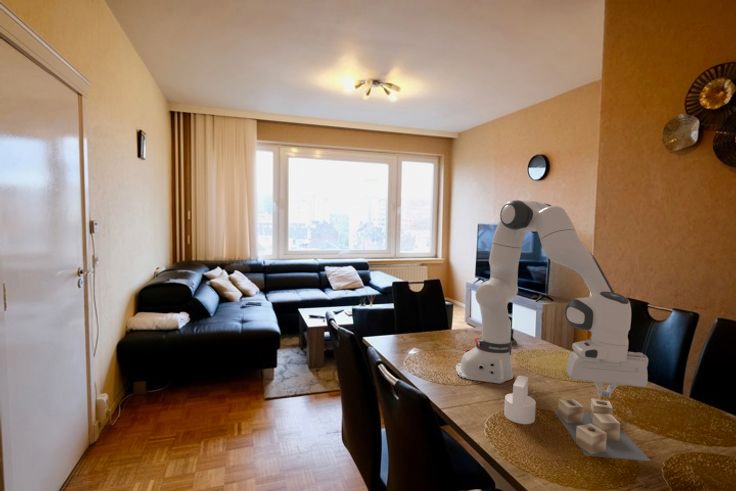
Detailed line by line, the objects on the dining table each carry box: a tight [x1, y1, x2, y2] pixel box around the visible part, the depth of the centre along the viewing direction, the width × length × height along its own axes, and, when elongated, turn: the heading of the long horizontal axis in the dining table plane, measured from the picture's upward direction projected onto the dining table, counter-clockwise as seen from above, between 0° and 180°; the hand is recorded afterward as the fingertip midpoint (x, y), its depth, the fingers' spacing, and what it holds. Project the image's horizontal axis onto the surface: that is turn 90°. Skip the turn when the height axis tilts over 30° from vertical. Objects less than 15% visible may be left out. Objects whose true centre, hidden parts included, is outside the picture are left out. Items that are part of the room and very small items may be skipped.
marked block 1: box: [557, 398, 585, 423], centre depth 117 cm, size 5×5×5 cm
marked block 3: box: [575, 423, 607, 454], centre depth 102 cm, size 5×5×5 cm
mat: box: [553, 409, 652, 462], centre depth 110 cm, size 16×24×1 cm, turn 172°
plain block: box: [592, 413, 621, 441], centre depth 108 cm, size 5×5×5 cm
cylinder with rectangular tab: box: [503, 375, 537, 425], centre depth 118 cm, size 9×9×12 cm
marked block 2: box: [589, 397, 614, 420], centre depth 117 cm, size 5×5×5 cm
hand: (603, 396), depth 108 cm, fingers closed
